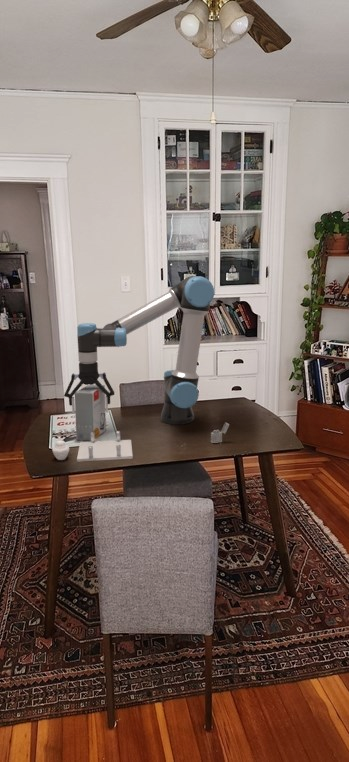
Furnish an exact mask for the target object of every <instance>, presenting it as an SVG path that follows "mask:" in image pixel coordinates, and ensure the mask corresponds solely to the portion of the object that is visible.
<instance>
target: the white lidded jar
mask: <svg viewBox="0 0 349 762" xmlns="http://www.w3.org/2000/svg"><path fill="white" fill-rule="evenodd" d="M69 452H70V447H69V445H67V443H66V442H65V441H64V440H57V441H56V442H55V445H54V446H53V447H52V453H53V455H54V457H55V458H56V459H57V460H58V461H63V460H66V459H67V457H68V455H69Z"/></svg>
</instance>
